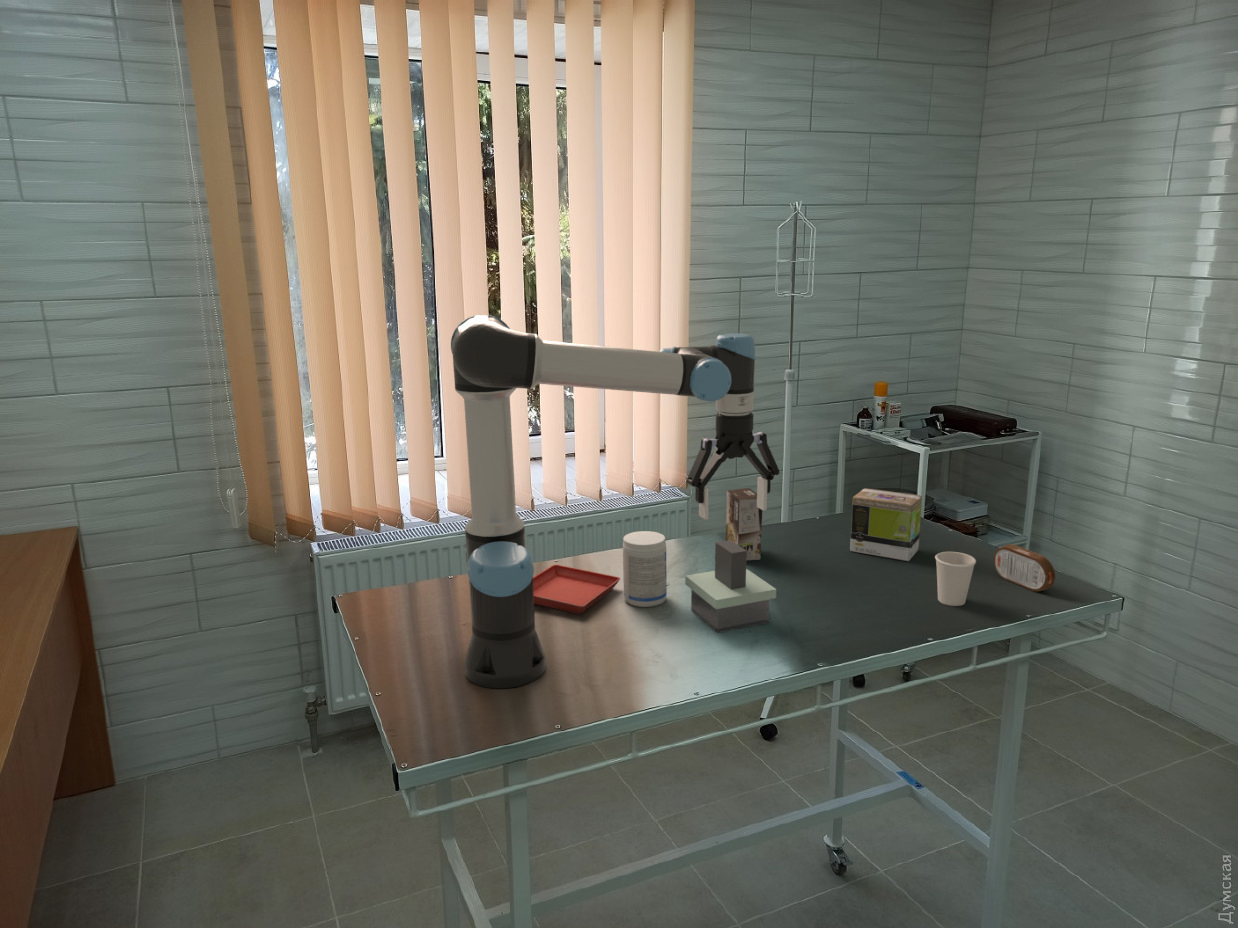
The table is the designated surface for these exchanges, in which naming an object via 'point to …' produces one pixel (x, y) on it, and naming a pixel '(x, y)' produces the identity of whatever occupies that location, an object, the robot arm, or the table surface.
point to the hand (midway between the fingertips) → (733, 513)
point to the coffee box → (744, 521)
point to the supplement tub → (644, 568)
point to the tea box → (885, 523)
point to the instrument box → (730, 614)
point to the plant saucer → (571, 588)
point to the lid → (730, 579)
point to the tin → (1024, 567)
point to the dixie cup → (953, 577)
